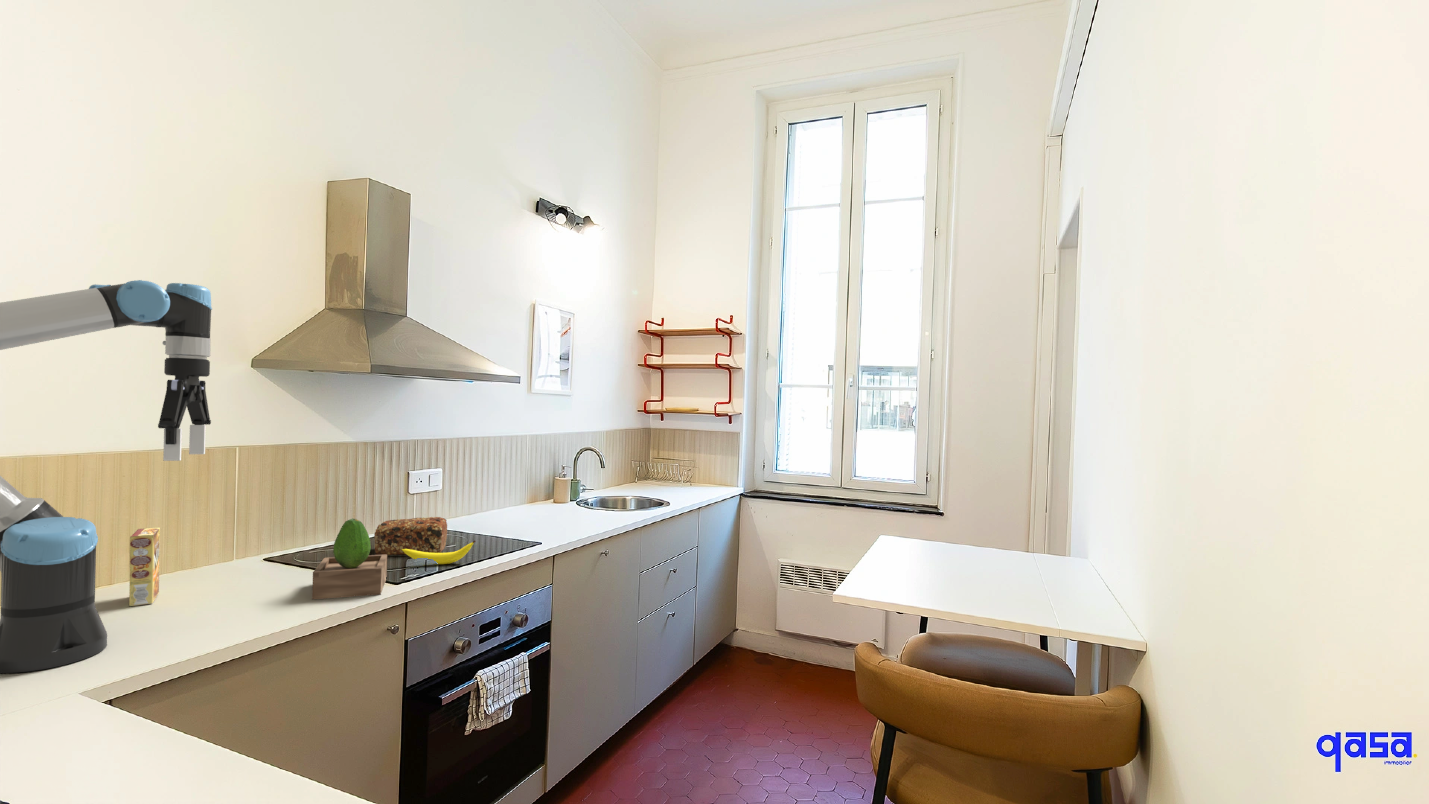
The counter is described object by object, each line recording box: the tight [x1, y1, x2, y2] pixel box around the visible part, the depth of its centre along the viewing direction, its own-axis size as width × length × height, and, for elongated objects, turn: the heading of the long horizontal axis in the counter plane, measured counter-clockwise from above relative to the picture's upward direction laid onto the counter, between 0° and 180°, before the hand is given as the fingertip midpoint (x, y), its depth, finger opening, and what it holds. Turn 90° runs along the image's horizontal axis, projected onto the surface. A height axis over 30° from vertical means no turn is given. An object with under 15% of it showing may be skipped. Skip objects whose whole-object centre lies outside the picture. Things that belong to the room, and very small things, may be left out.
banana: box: [402, 540, 476, 565], centre depth 182 cm, size 3×19×6 cm, turn 111°
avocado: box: [333, 517, 372, 568], centre depth 159 cm, size 8×8×12 cm
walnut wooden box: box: [311, 554, 388, 600], centre depth 159 cm, size 14×14×6 cm
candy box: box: [128, 527, 161, 607], centre depth 146 cm, size 9×4×15 cm, turn 33°
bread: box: [373, 516, 448, 556], centre depth 197 cm, size 19×11×10 cm, turn 103°
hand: (185, 457), depth 140 cm, fingers open, 13 cm apart
